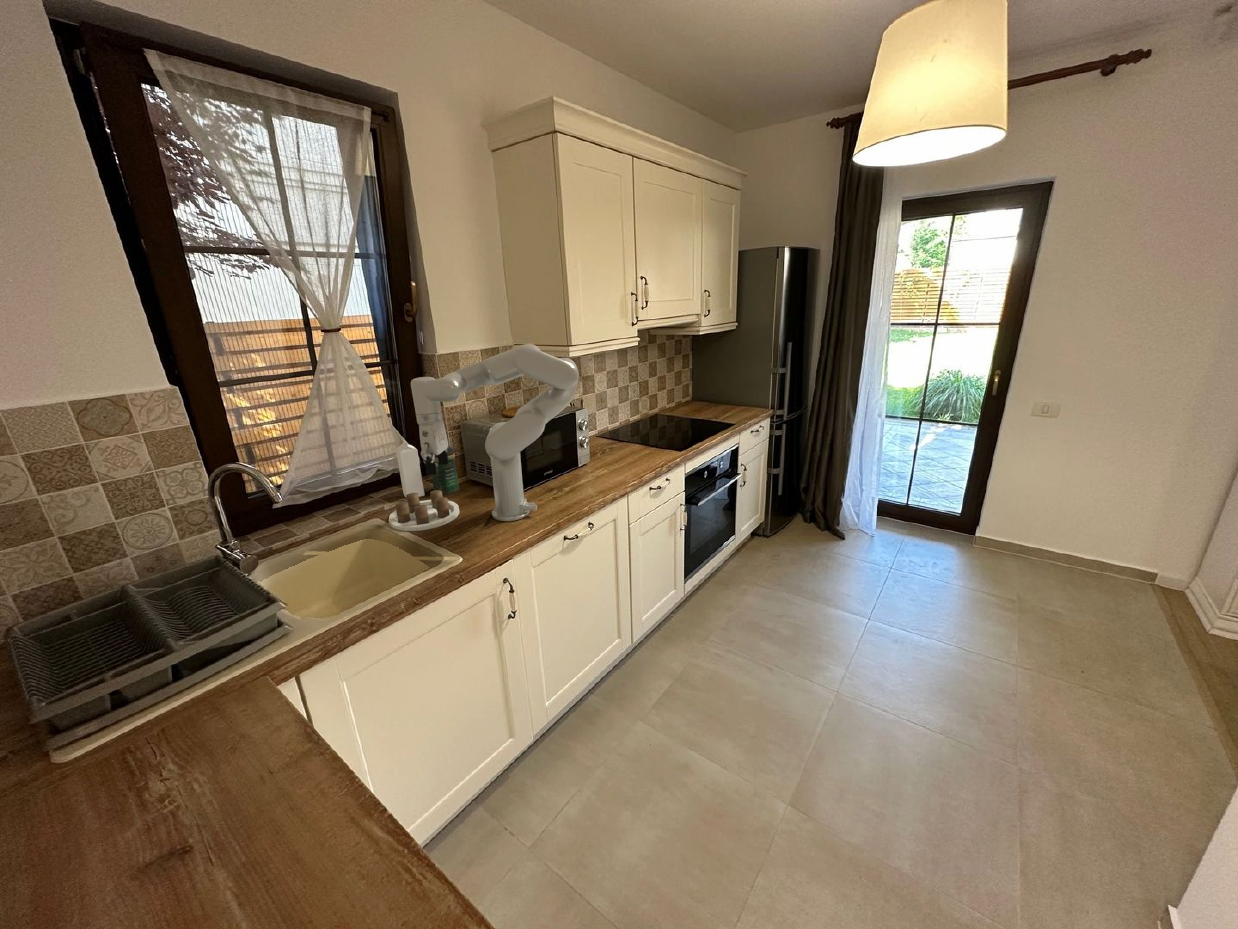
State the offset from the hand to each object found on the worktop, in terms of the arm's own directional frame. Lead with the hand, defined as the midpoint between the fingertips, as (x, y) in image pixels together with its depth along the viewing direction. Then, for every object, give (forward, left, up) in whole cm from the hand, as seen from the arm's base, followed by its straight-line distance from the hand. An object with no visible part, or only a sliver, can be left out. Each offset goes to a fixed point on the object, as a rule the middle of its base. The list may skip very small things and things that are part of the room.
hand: (438, 469), depth 156 cm
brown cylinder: (+5, -6, -17) cm, 18 cm away
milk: (+19, -18, -18) cm, 31 cm away
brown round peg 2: (+5, +6, -17) cm, 18 cm away
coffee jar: (+9, -24, -18) cm, 31 cm away
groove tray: (+7, 0, -18) cm, 19 cm away
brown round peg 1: (+12, +4, -17) cm, 21 cm away
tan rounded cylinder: (0, 0, -17) cm, 17 cm away
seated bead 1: (+12, -4, -17) cm, 21 cm away
